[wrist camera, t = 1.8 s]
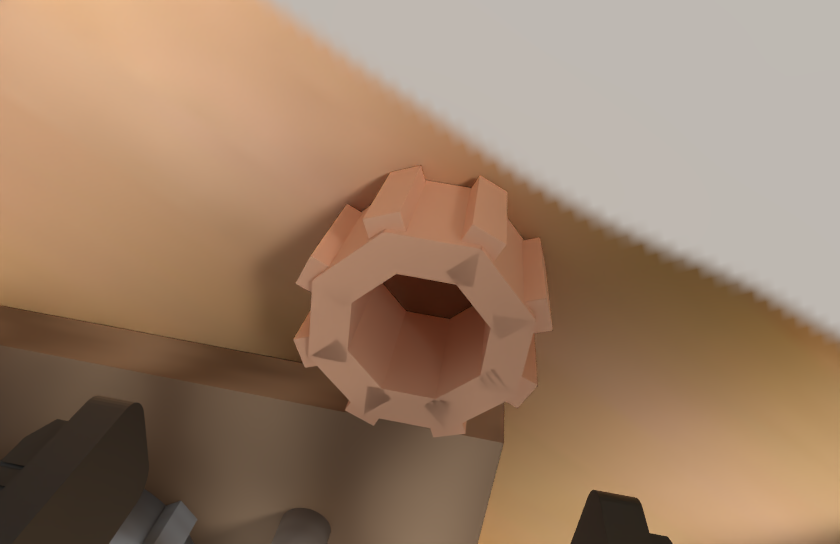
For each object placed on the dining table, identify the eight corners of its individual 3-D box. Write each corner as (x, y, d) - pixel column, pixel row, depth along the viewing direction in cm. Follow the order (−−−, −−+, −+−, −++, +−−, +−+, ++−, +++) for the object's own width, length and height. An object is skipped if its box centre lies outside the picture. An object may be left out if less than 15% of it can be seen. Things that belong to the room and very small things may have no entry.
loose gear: (564, 187, 17) (578, 245, 13) (517, 370, 20) (518, 459, 16) (340, 149, 17) (296, 196, 13) (327, 335, 20) (288, 414, 16)
